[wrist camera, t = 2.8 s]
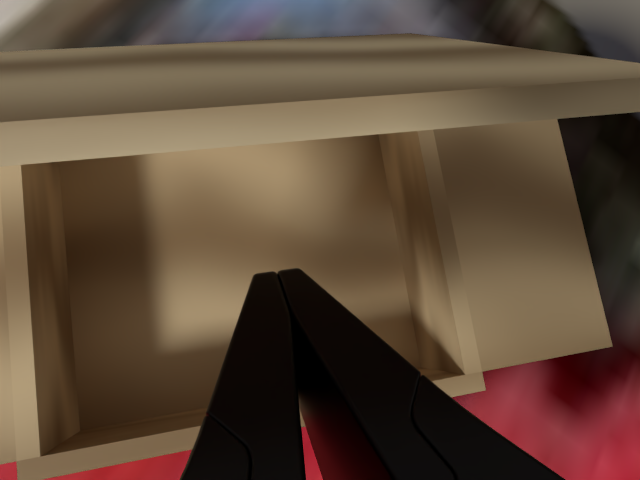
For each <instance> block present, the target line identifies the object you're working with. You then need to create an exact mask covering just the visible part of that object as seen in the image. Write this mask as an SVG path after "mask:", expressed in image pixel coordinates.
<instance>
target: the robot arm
mask: <svg viewBox="0 0 640 480" xmlns="http://www.w3.org/2000/svg"><path fill="white" fill-rule="evenodd" d="M300 411H301V414H302V417H303V420H304V423H305V426H306V429H307V432H308V435H309V438H310V441H311V444H312V447H313V450H314V453H315V456H316V459H317V462H318V465H319V468H320V471H321V474H322V477H323V480H565V479H564V478H562V477H561V476H559V475H558V474H556V473H555V472H554V471H552V470H551V469H549V468H548V467H546V466H545V465H544V464H542V463H541V462H539V461H538V460H536V459H535V458H534V457H532V456H531V455H529V454H528V453H526V452H525V451H524V450H522V449H521V448H519V447H518V446H516V445H515V444H513V443H512V442H511V441H509V440H508V439H506V438H505V437H503V436H502V435H501V434H499V433H498V432H496V431H495V430H493V429H492V428H491V427H489V426H488V425H487V424H485V423H484V422H482V421H481V420H480V419H478V418H477V417H476V416H474V415H473V414H472V413H470V412H469V411H467V410H466V409H465V408H463V407H462V406H461V405H460V404H459V403H457V402H456V401H455V400H454V399H452V398H451V397H450V396H449V395H448V394H446V393H445V392H444V391H443V390H441V389H440V388H439V387H438V386H437V385H435V384H434V383H433V382H432V381H431V380H430V379H428V378H427V377H426V376H425V375H421V372H420V371H419V370H418V369H417V368H415V367H414V366H413V365H412V364H411V363H410V362H408V361H407V360H406V359H405V358H404V357H403V356H401V355H400V354H399V353H398V352H397V351H396V350H394V349H393V348H392V347H391V346H390V345H389V344H387V343H386V342H385V341H384V340H383V339H382V338H380V337H379V336H378V335H377V334H376V333H375V332H374V331H372V330H371V329H370V328H369V327H368V326H367V325H365V324H364V323H363V322H362V321H361V320H360V319H358V318H357V317H356V316H355V315H354V314H353V313H351V312H350V311H349V310H348V309H347V308H346V307H344V306H343V305H342V304H341V303H340V302H339V301H337V300H336V299H335V298H334V297H333V296H332V295H330V294H329V293H328V292H327V291H326V290H325V289H323V288H322V287H321V286H320V285H319V284H318V283H317V282H315V281H314V280H313V279H312V278H311V277H310V276H308V275H307V274H306V273H305V272H304V271H303V270H301V269H299V268H291V269H284V270H279V271H278V273H276V272H274V271H270V272H262V273H256V274H254V275H253V277H252V280H251V283H250V286H249V289H248V292H247V294H246V297H245V300H244V303H243V306H242V309H241V312H240V315H239V318H238V321H237V323H236V326H235V329H234V332H233V335H232V338H231V341H230V344H229V347H228V350H227V353H226V355H225V358H224V361H223V364H222V367H221V370H220V373H219V376H218V379H217V382H216V384H215V387H214V390H213V393H212V396H211V399H210V402H209V405H208V408H207V411H206V416H205V417H204V418H203V421H202V424H201V427H200V430H199V433H198V436H197V439H196V441H195V444H194V446H193V449H192V451H191V454H190V457H189V459H188V462H187V464H186V467H185V469H184V471H183V473H182V476H181V478H180V480H306V475H305V464H304V453H303V442H302V431H301V420H300Z"/></svg>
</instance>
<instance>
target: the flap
mask: <svg viewBox="0 0 640 480" xmlns="http://www.w3.org/2000/svg"><path fill="white" fill-rule="evenodd" d="M632 112H640V63H636V62H627V61H620V60H612V59H605V58H597V57H589V56H581V55H574V54H566V53H558V52H551V51H543V50H535V49H527V48H520V47H512V46H504V45H496V44H489V43H481V42H473V41H465V40H458V39H450V38H442V37H434V36H427V35H419V34H411V33H410V34H387V35H365V36H342V37H320V38H297V39H275V40H252V41H230V42H207V43H185V44H162V45H140V46H117V47H95V48H72V49H50V50H27V51H5V52H0V167H2V166H13V165H25V164H37V163H48V162H60V161H72V160H83V159H95V158H107V157H119V156H130V155H142V154H154V153H165V152H177V151H189V150H200V149H212V148H224V147H235V146H247V145H259V144H270V143H282V142H294V141H305V140H317V139H329V138H340V137H352V136H364V135H375V134H387V133H399V132H410V131H422V130H434V129H445V128H457V127H469V126H480V125H492V124H504V123H515V122H527V121H539V120H550V119H562V118H574V117H585V116H597V115H609V114H620V113H632Z"/></svg>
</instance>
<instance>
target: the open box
mask: <svg viewBox="0 0 640 480" xmlns="http://www.w3.org/2000/svg"><path fill="white" fill-rule="evenodd" d="M291 268H299V269H301V270H303V271H304V272H305V273H306V274H307V275H308V276H310V277H311V278H312V279H313V280H314V281H315V282H317V283H318V284H319V285H320V286H321V287H322V288H323V289H325V290H326V291H327V292H328V293H329V294H330V295H332V296H333V297H334V298H335V299H336V300H337V301H339V302H340V303H341V304H342V305H343V306H344V307H346V308H347V309H348V310H349V311H350V312H351V313H353V314H354V315H355V316H356V317H357V318H358V319H360V320H361V321H362V322H363V323H364V324H365V325H367V326H368V327H369V328H370V329H371V330H372V331H374V332H375V333H376V334H377V335H378V336H379V337H380V338H382V339H383V340H384V341H385V342H386V343H387V344H389V345H390V346H391V347H392V348H393V349H394V350H396V351H397V352H398V353H399V354H400V355H401V356H403V357H404V358H405V359H406V360H407V361H408V362H410V363H411V364H412V365H413V366H414V367H415V368H417V369H418V370H419V371H420V372H421V375H425V376H426V377H427V378H428V379H430V380H431V381H432V382H433V383H434V384H435V385H437V386H438V387H439V388H440V389H441V390H443V391H444V392H445V393H446V394H448V395H449V396H450V397H455V396H460V395H465V394H470V393H475V392H480V391H485V390H486V389H485V384H484V379H483V374H482V371H488V370H493V369H498V368H503V367H508V366H514V365H519V364H524V363H529V362H534V361H540V360H545V359H550V358H555V357H560V356H566V355H571V354H576V353H581V352H586V351H591V350H597V349H602V348H607V347H612V342H611V338H610V334H609V330H608V326H607V322H606V318H605V313H604V309H603V305H602V301H601V297H600V293H599V289H598V285H597V281H596V276H595V272H594V268H593V264H592V260H591V256H590V252H589V248H588V244H587V240H586V235H585V231H584V227H583V223H582V219H581V215H580V211H579V207H578V203H577V198H576V194H575V190H574V186H573V182H572V178H571V174H570V170H569V166H568V161H567V157H566V153H565V149H564V145H563V141H562V137H561V133H560V129H559V125H558V120H557V119H550V120H539V121H527V122H515V123H504V124H492V125H480V126H469V127H457V128H445V129H434V130H422V131H410V132H399V133H387V134H375V135H364V136H352V137H340V138H329V139H317V140H305V141H294V142H282V143H270V144H259V145H247V146H235V147H224V148H212V149H200V150H189V151H177V152H165V153H154V154H142V155H130V156H119V157H107V158H95V159H83V160H72V161H60V162H48V163H37V164H25V165H13V166H2V167H0V464H5V463H10V462H15V461H17V477H18V480H42V479H47V478H52V477H57V476H62V475H67V474H72V473H77V472H81V471H86V470H91V469H96V468H101V467H106V466H111V465H116V464H121V463H126V462H131V461H136V460H141V459H146V458H151V457H156V456H161V455H166V454H171V453H176V452H181V451H186V450H191V449H193V446H194V444H195V441H196V439H197V436H198V433H199V430H200V427H201V424H202V421H203V418H204V417H205V416H206V411H207V408H208V405H209V402H210V399H211V396H212V393H213V390H214V387H215V384H216V382H217V379H218V376H219V373H220V370H221V367H222V364H223V361H224V358H225V355H226V353H227V350H228V347H229V344H230V341H231V338H232V335H233V332H234V329H235V326H236V323H237V321H238V318H239V315H240V312H241V309H242V306H243V303H244V300H245V297H246V294H247V292H248V289H249V286H250V283H251V280H252V277H253V275H254V274H256V273H262V272H270V271H274V272H276V273H278V271H279V270H284V269H291ZM300 420H301V427H305V423H304V420H303V417H302V414H301V411H300Z"/></svg>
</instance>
